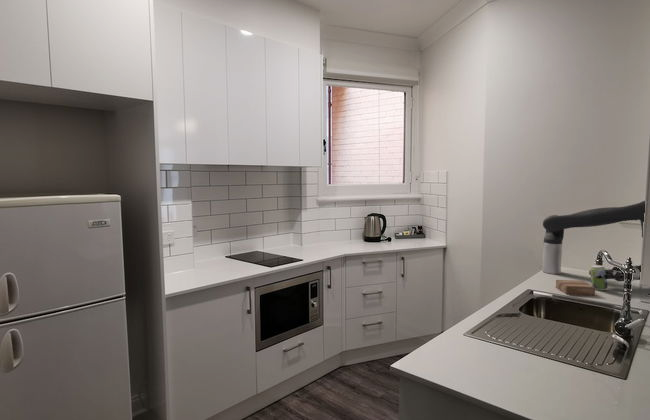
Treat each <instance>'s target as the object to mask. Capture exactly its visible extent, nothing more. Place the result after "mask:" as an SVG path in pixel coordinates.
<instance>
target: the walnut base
mask: <svg viewBox="0 0 650 420" xmlns="http://www.w3.org/2000/svg"><path fill="white" fill-rule="evenodd" d="M555 289H557V290H559V291H560V292H561V293H563V294H565V295H567V296H568V295H569V296H586V297H587V296H590V297H595V296H596V290H595V287H593V286H592V284H590V283H588V282H585V281H584V280H573V279H572V280H569V279H556V280H555Z"/></svg>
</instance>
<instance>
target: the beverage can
mask: <svg viewBox="0 0 650 420" xmlns="http://www.w3.org/2000/svg"><path fill="white" fill-rule="evenodd" d="M597 265H598V264H593V265H591V267H590V269H589V271H590V272H591V275H590V279H591V286H593V287H595V291H605V290H607V289H608V281H607V280H608V279H604V275H605V274H606V271H605V269H606V267H604V265H602V266H597Z"/></svg>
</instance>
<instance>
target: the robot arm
mask: <svg viewBox="0 0 650 420" xmlns="http://www.w3.org/2000/svg"><path fill="white" fill-rule="evenodd" d="M645 201H646V200H643V201H640V202H637V203H634V204H630V205H626V206H617V207H616V206H615V207H614V206H612V207H611V206H609V207H608V206H607V207H598V208H592V209H587V210H582V211H579V212H575V213H571V214H570V213H569V214H566V215H558V214H554V215H553V214H552V215H548V216H547V217H545V218H544V220H543V221H542V227H543V228H544V229H545V233H544V234H545V235H544V237H543V251H542V272H543V273H545V274H552V275H558V274H559V275H560V274H561V273H562V258H563V257H562V255H563V239H564V235H565V234H564V233H565V230H567V229H574V228H590V227H599V226H606V225H611V224H616V223H622V222H629V221H640V226H641V238H642V237H643V222H644V213H645ZM641 265H642V264H640V265H632V266H633V267H634V268H635V270H636V273H635V274H633V280H632V281H631V282H633V281H641V280H640V272H641ZM605 271H606V274H605V275H604V279H606V280H615V282H625V281H624V273H623V272H622V271H621V270H620V269H619V268H617V267H615V266H613V267H612V268H608V269H607V268H605ZM588 274H589V275H590V276H591V272H590V270H589V271H588Z"/></svg>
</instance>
